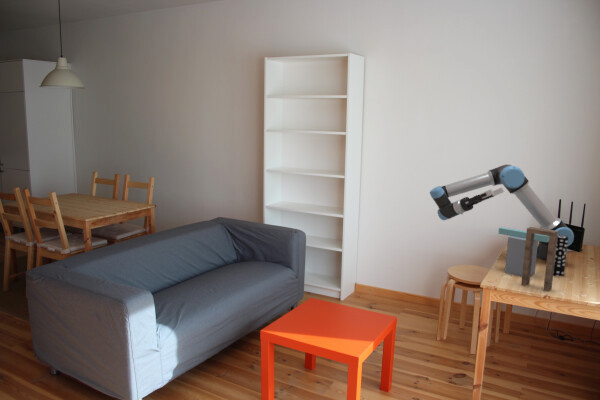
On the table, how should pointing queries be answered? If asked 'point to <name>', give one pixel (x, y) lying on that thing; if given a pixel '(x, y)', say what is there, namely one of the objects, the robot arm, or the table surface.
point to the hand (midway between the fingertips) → (498, 190)
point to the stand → (550, 256)
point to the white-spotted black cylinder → (560, 255)
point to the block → (518, 256)
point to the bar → (522, 234)
